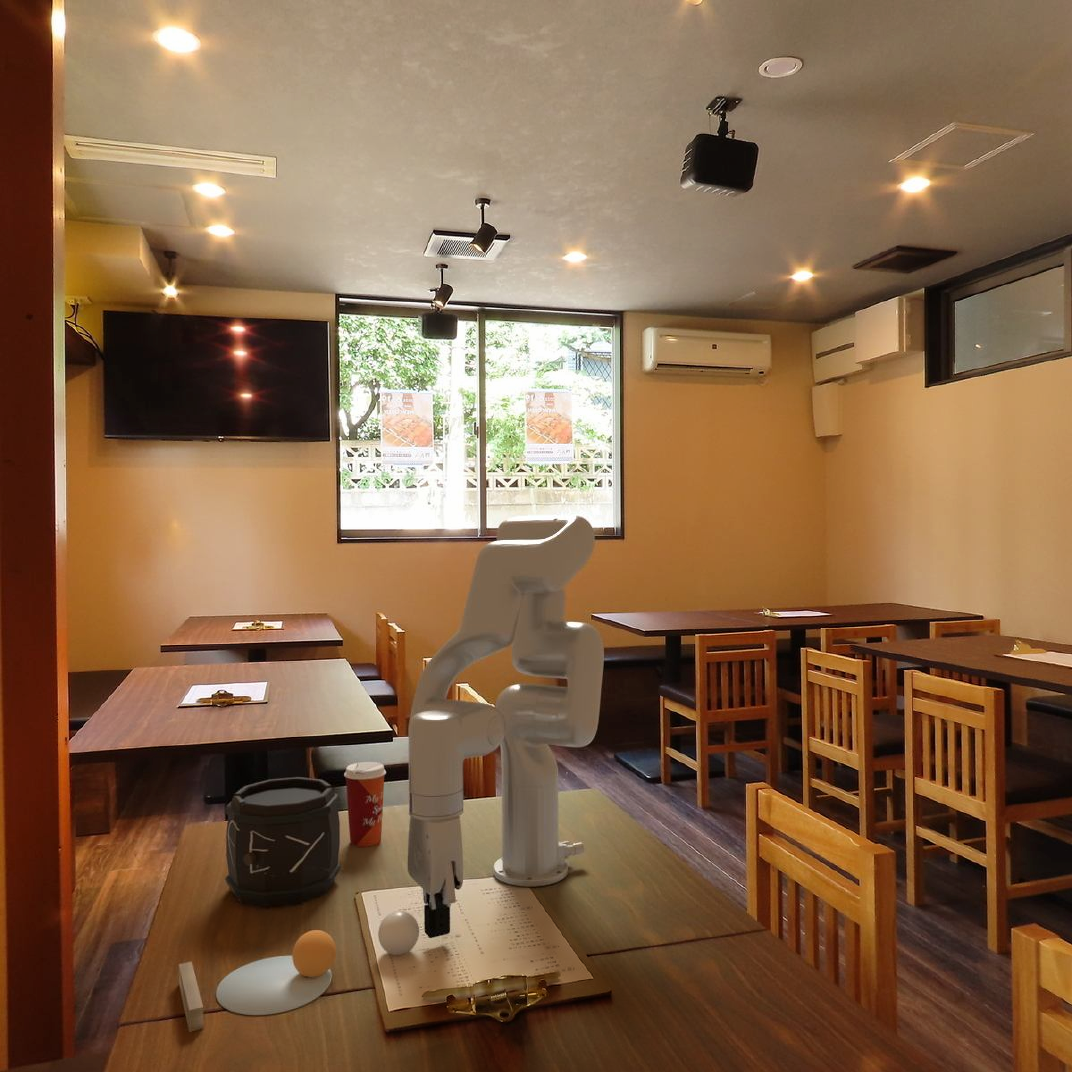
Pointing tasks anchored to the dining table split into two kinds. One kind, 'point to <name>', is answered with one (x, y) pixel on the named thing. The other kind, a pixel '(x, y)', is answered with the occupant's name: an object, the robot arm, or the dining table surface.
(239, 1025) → the dining table surface
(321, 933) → the object ball
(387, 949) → the cue ball
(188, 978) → the rail
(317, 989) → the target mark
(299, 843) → the dark grey barrel
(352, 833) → the paper cup
